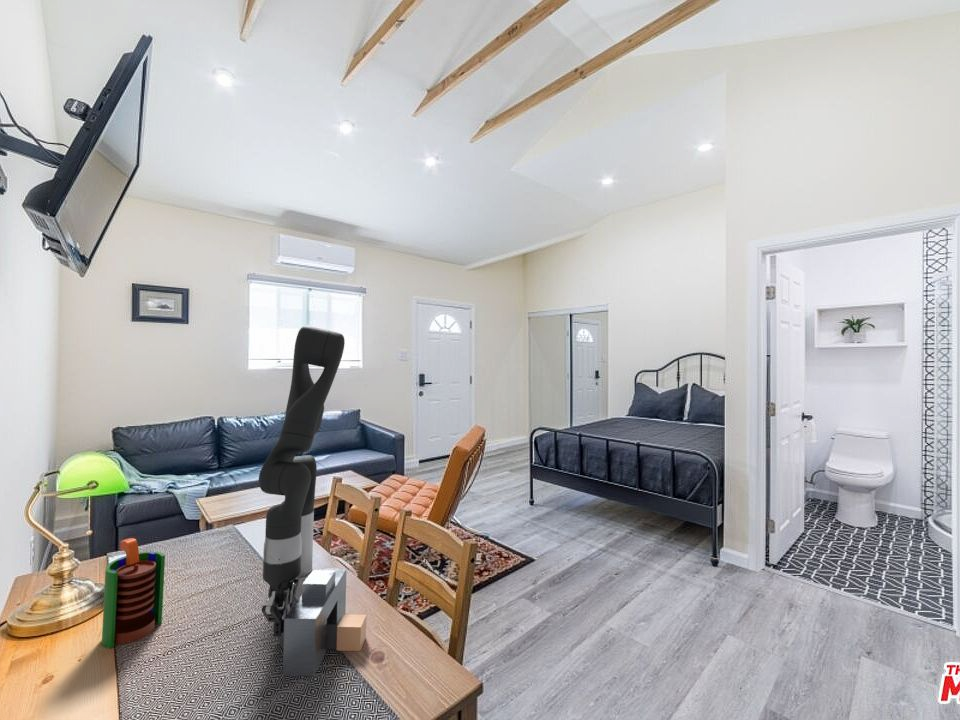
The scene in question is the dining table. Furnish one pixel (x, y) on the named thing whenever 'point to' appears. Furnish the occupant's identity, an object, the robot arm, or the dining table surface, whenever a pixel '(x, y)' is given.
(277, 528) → the robot arm
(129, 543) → the motor
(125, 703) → the dining table surface
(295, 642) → the housing
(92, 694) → the dining table surface
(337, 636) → the plug
